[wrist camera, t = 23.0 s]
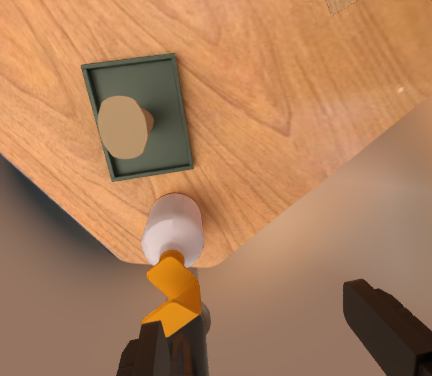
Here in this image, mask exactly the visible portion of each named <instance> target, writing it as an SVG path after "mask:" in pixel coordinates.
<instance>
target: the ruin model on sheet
mask: <svg viewBox="0 0 432 376" xmlns="http://www.w3.org/2000/svg"><path fill="white" fill-rule="evenodd" d="M355 1H357V0H326V2H327V4H328V7H329V10H330V13H331V15H332V16H333V15H335V14H336V13H338V12H339V11H341V10H343V9H344V8H346V7H347V6H349V5H351V4H352V3H354V2H355Z"/></svg>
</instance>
